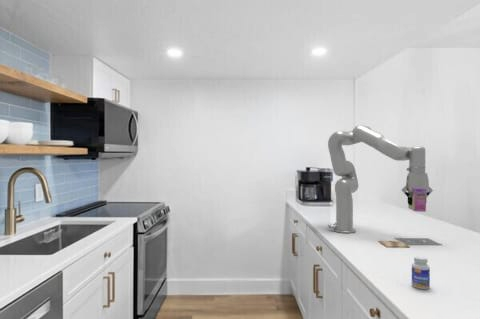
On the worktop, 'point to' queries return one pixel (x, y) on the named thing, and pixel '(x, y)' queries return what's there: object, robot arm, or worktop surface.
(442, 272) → the worktop surface
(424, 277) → the pill bottle
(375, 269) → the worktop surface
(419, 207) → the box
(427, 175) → the robot arm
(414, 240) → the tile
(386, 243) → the wooden pad
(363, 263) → the worktop surface
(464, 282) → the worktop surface
